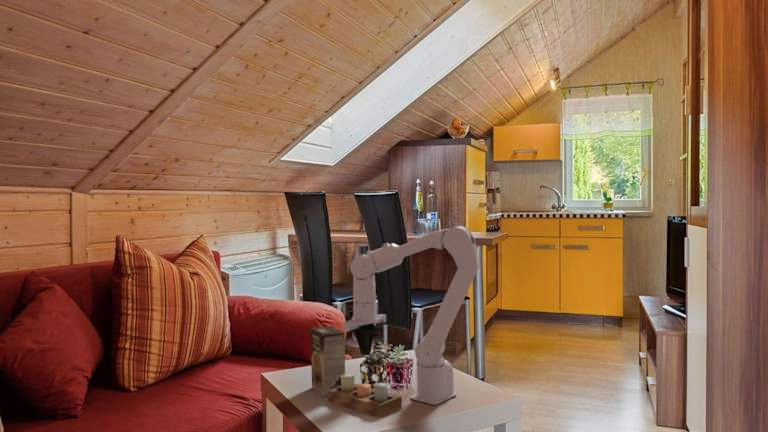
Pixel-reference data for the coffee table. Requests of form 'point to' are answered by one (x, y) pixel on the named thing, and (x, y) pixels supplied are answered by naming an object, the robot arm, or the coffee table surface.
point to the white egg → (381, 392)
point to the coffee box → (327, 358)
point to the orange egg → (363, 390)
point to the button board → (365, 402)
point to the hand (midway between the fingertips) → (365, 354)
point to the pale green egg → (347, 383)
